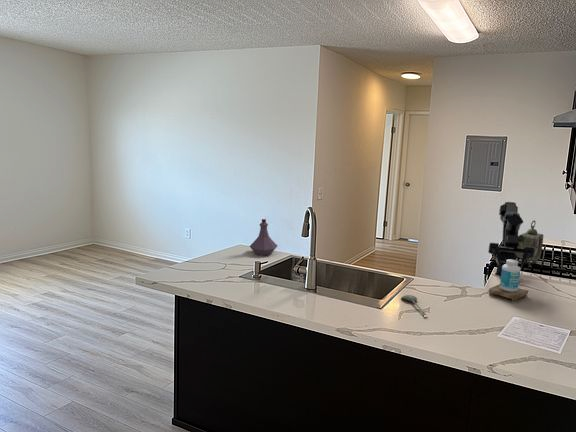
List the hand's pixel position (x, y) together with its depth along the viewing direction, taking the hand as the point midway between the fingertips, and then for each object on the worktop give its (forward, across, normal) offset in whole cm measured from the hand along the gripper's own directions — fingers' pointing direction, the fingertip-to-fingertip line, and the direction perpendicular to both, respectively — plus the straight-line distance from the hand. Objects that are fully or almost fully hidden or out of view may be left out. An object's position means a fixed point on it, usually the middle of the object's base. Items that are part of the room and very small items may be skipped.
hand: (510, 266), depth 205 cm
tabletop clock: (-27, +13, +46) cm, 55 cm away
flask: (+3, -128, +16) cm, 129 cm away
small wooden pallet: (+12, 0, +5) cm, 13 cm away
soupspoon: (+34, -37, -16) cm, 52 cm away
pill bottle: (+10, 0, +3) cm, 11 cm away
